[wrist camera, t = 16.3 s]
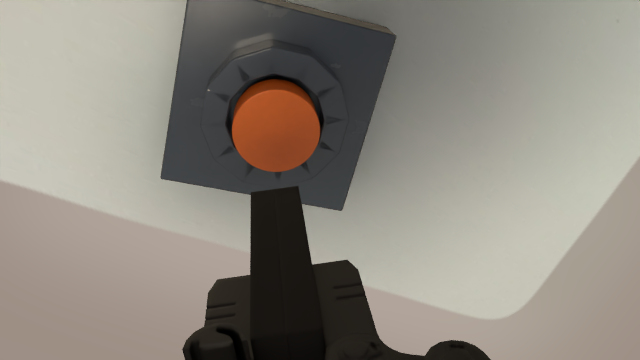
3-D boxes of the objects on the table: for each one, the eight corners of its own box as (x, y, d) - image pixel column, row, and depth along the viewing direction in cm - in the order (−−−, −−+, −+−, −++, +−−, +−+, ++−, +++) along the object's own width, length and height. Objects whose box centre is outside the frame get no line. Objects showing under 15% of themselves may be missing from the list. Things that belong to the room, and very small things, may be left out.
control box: (387, 27, 28) (406, 43, 25) (336, 193, 32) (347, 228, 29) (194, -23, 26) (184, -12, 23) (166, 162, 30) (154, 195, 27)
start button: (325, 89, 26) (330, 100, 24) (305, 164, 27) (308, 179, 26) (242, 70, 25) (241, 80, 23) (226, 148, 26) (224, 163, 25)
